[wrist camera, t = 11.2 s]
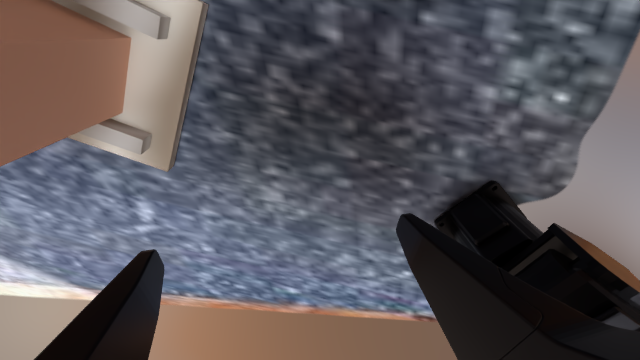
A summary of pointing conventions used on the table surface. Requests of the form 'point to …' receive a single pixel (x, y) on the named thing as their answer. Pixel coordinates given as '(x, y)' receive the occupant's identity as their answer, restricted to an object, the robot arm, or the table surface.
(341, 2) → the table surface
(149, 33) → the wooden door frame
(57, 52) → the block
